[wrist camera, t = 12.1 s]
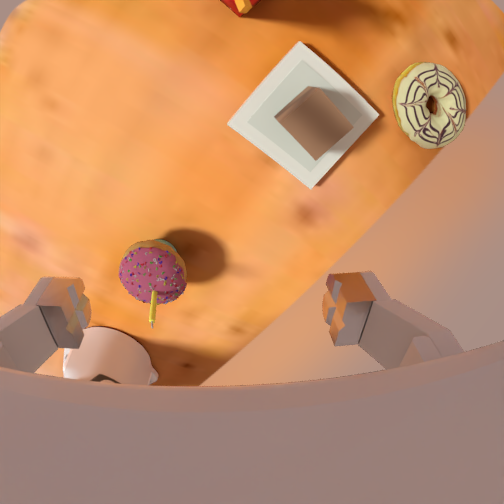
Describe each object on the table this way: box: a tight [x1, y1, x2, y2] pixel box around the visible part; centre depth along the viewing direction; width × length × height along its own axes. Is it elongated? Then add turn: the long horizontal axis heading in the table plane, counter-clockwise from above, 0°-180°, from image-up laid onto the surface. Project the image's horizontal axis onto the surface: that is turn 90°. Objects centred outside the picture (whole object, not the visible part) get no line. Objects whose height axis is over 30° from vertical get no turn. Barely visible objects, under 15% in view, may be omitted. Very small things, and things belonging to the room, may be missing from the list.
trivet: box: [227, 41, 379, 189], centre depth 32 cm, size 12×12×2 cm
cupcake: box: [119, 239, 187, 328], centre depth 36 cm, size 9×8×12 cm
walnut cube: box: [274, 86, 354, 161], centre depth 30 cm, size 5×5×5 cm
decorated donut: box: [392, 62, 466, 149], centre depth 31 cm, size 10×11×4 cm
